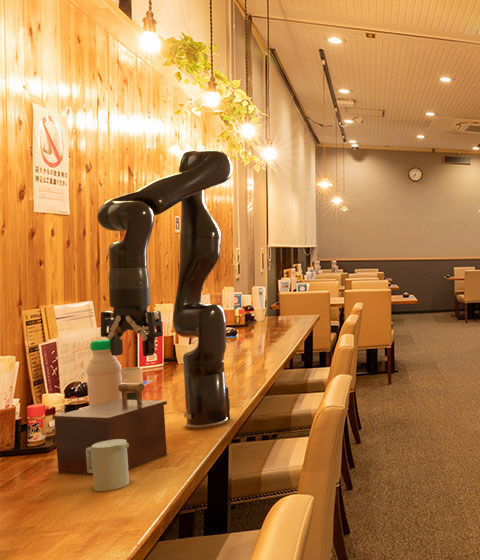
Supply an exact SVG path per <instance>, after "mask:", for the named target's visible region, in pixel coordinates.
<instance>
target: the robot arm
mask: <svg viewBox="0 0 480 560" xmlns="http://www.w3.org/2000/svg"><path fill="white" fill-rule="evenodd" d="M232 173H233V164H232V161H231V159H230V157H229V155H227V154H226V153H224V152H222V151H219V150H214V149H213V150H209V149H207V150H206V149H205V150H201V149H199V150H198V149H197V150H186V151H185V152H183V153H182V154H181V156H180V159H179V163H178V173H174V174H171V175H168V176H164V177H162V178H159V179H156V180H154V181H152V182H150V183H148V184H147V185H145V186H143V187H141V188H139V189H138V190H136V191H134V192H130V193H126V194H123V195H120V196H117V197H114V198H111V199H109V200H107V201H106V202H104V203H103V204H102V205H101V206H100V207H99V208H98V210H97V214H96V218H97V222H98V224H99V225H100V226H101V227H102V228H103V229H105V230H107V231H111V232H125V233H124V236H123V238H122V239H121V240H119V241H115V242H112V243H111V244H109V246H108V299H109V307H110V308H113V310H105V311H101V312H100V337H102V338H106V339H107V340H110V351H111V354H112V355H113V356H115V357H117V356H121V355H123V349H124V348H123V338H122V337H123V335H124V334H125V332H127V331H134V332H135V333H136V334H139V337H141V339H142V355H143V357H149V356H150V357H151V356H153V355H154V354H155V353H156V343H155V342H156V341H155V340H156V339H157V338H159V337H162V336H163V335H164V331H163V322H162V313H161V311H160V310H156V311H155V310H154V311H149V309H148V307H150V305H151V288H150V287H151V286H150V276H149V275H150V274H149V271H148V254H147V251H148V250H147V249H148V246H149V243H150V240H151V235H152V232H153V229H154V225H155V217H157V216H159V215H160V214H163V213H165V212H166V211H168V210H169V209H171V208H173V207H174V206H176V205H177V204H179V203H180V230H179V231H180V232H179V261H178V263H179V265H178V278H177V288H176V294H175V299H174V300H175V301H174V307H173V313H172V324H173V329H174V331H175V333H176V335H178V336H179V337H181V338H185V339H187V338H189V339H197V346H196V347H195V348H194V349H192V350H189V351H187V352H185V353H184V354H183V356H182V362H183V363H182V364H183V366H182V367H183V382H184V383H183V384H184V397H185V398H184V399H185V400H184V401H185V412H184V413H183V417H184V418H185V419H186V428H187V429H190V430H191V429H192V430H202V429H208V428H214V427H218V426H222V425H224V424H226V423H228V421H230V420H231V414H230V410H231V404H230V403H231V402H230V397H229V395H230V394H229V387H228V386H226V375H225V373H226V372H225V353H226V349H227V317H226V313H225V311H224V308H223V307H221V305H218V304H216V303H202V294H203V293H202V292H203V287H204V284H205V283H206V281H207V279H208V277H209V275H210V274H211V273H212V271H213V270H214V268H215V267H216V265H217V263H218V261H219V259H220V256H221V241H222V240H221V238H222V237H221V230H220V228H219V226H218V224H217V221H215V218H213V216H212V214H211V212H210V211H209V209H208V207H207V205H206V202H205V192H204V191H205V190H207V189H210V188H212V187H215V186H216V187H217V186H219V185H221V184H225V183H226V182H227V181H228V180H230V178H231V176H232Z"/></svg>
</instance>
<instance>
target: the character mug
mask: <svg viewBox="0 0 480 560" xmlns="http://www.w3.org/2000/svg"><path fill="white" fill-rule="evenodd" d="M143 374H144V373H143V368H142V367H139V366H136V367H135V366H134V367H133V366H132V367H131V366H130V367H123V368H122V369H121V376H122V383H142V384H143V385H144V376H143ZM127 400H137V392H127Z"/></svg>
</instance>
